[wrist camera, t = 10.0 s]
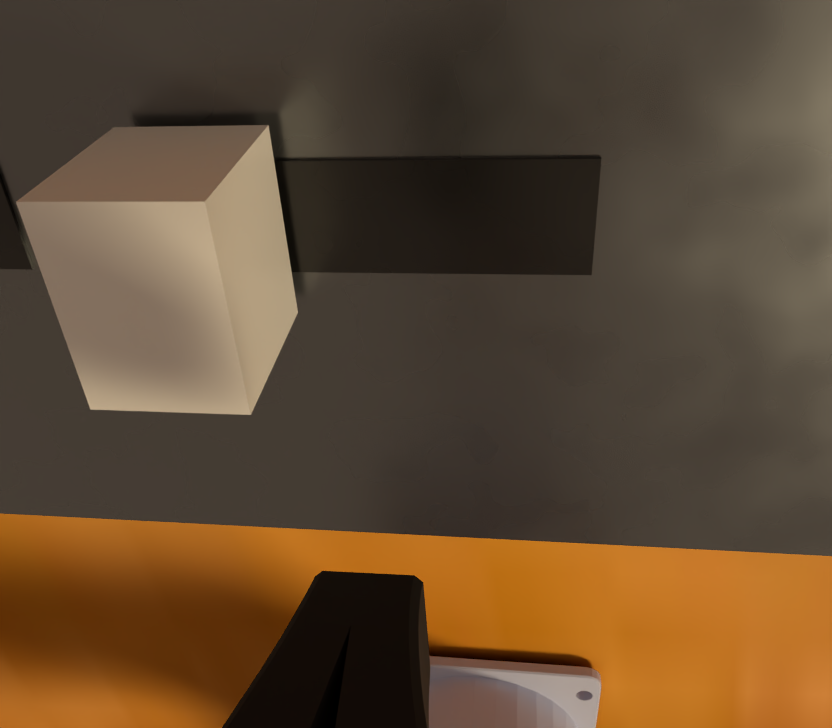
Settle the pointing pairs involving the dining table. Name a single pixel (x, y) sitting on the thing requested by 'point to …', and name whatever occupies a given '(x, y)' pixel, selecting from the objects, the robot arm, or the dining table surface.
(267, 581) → the dining table surface
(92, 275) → the block
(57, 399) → the breaker panel
